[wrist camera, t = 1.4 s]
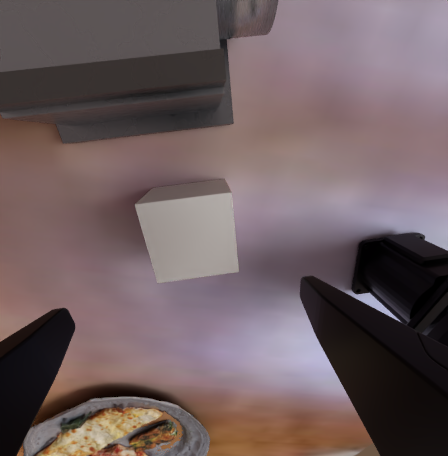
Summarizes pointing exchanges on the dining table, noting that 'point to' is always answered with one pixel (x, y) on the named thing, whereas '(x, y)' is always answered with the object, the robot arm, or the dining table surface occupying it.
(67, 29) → the motor housing
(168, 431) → the food plate
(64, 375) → the dining table surface
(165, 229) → the plain white cube
